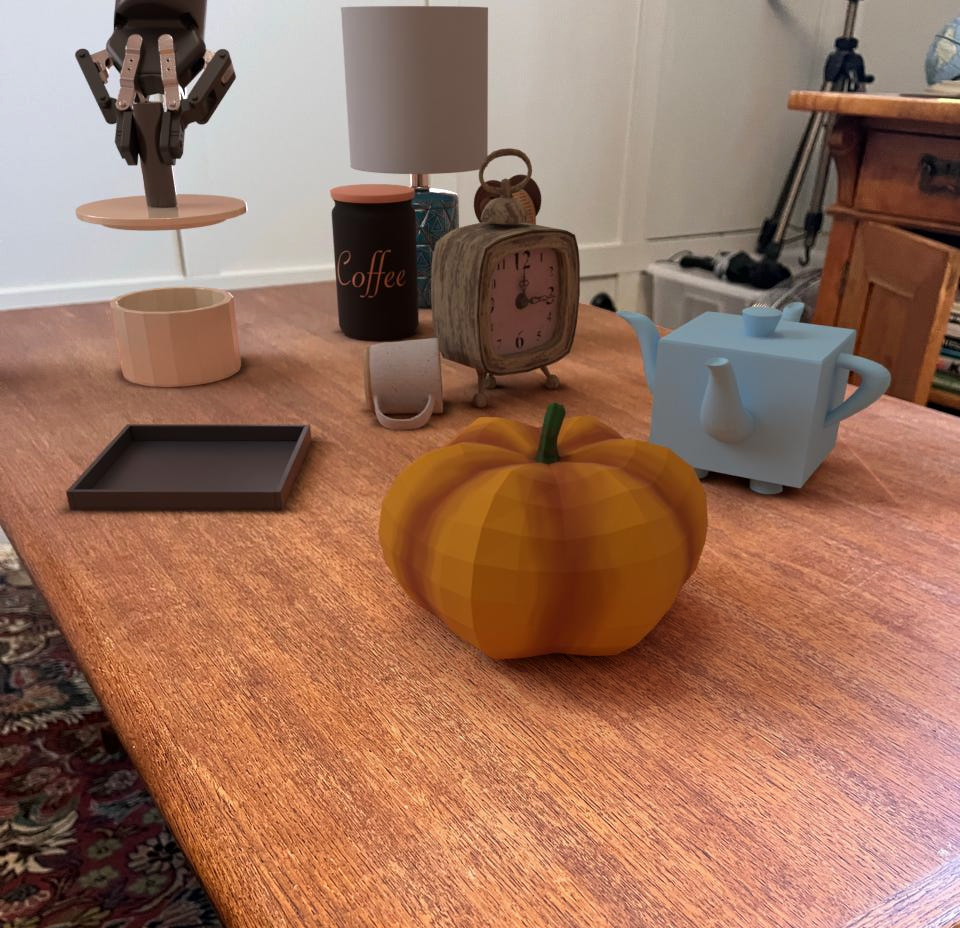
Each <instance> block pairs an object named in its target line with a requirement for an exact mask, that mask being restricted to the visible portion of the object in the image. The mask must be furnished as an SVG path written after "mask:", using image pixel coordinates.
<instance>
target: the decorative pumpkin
mask: <svg viewBox="0 0 960 928" xmlns="http://www.w3.org/2000/svg"><path fill="white" fill-rule="evenodd" d="M566 414H567V411H566V408H565V406H564V404H560V403H558V402H557V401H554V402H551V403H549V404H548V405H547V407H546V410H545V414H544V417H543V421H542V426H534V425H530V424H528V423H524V422H521V421H517V420H515V419H514V420H513V419H508V418H504V417H498V416H495V417H493V416H492V417H490V416H485V417H483V416H482V417H481V416H480V417H478V418H477V419H475V420H474V421H473V422H471V423H470V424H469V425H468V426H467V427H466V428H465V429H463V430H462V431H461V432H459V433H458V434H457V435H455V436H454V437H453V438H451V439H449V440H448V441H447V442H445V443H444V444H443V445H442V447H440V448H438V449H434V450H431V451H428V452H424V454H422V455H421V456H419V457H418V458H417V459H416V460H415V461H413V462H412V463H411V464H410V465H408V466H407V467H405V468H404V469H403V470H401V471H400V472H399V473H398V474H397V476H396V477H395V479H394V481H393V482H392V483H391V484H392V485H391V486H390V487H389V490H388V491H387V492H386V494H385V496H384V499H383V500H382V502H381V509H380V515H379V522H378V528H377V529H378V530H377V534H378V538H379V542H380V547H381V550H382V554H383V558H384V563H385V564H386V566H387V568H388V569H389V571H390V572H391V574H392V575H393V576H394V579H395V580H396V581H397V583H398V585H399V586H400V588H401V589H402V590H403V591H404V593H405V594H406V595H407V596H408V597H409V598H410V600H411V601H412V602H413V603H414V604H415V605H417V606H419V607H420V608H422V609H424V610H425V611H426V612H427V613H430V614H431V615H433V616H434V617H435V618H437V619H438V620H439V621H441V622H442V624H444V625H445V626H446V627H447V628H448V629H449V630H450V631H451V632H452V633H453V634H454V635H455V636H457V637H459V638H460V639H462V640H463V641H464V642H466V643H468V644H470V645H471V646H473V647H475V648H476V649H477V650H479V651H481V652H482V653H483V654H485V655H486V656H488V657H489V658H491V659H492V660H509V659H511V660H512V659H524V658H530V657H531V658H532V657H538V656H544V655H549V654H566V655H575V656H576V655H577V656H587V657H589V656H590V657H591V656H596V657H597V656H617V655H618V654H620V653H622V652H624V651H627V650H629V649H631V648H633V647H635V646H637V645H638V644H639V643H640V642H641V641H642V640H643V639H644V638H645V637H646V636H647V635H648V634H649V633H650V632H652V631H653V630H654V629H655V628H656V626H657V625H658V624H659V622H661V621H662V619H663V617H664V616H665V615H666V614H667V613H668V611H669V610H670V609H671V608H672V606H673V604H674V602H675V601H676V599H677V598H678V596H679V594H680V592H681V591H682V589H683V587H684V586H685V584H687V582H688V581H689V580H690V578H691V577H692V575H693V574H694V573H695V572H696V570H697V568H698V566H699V563H700V560H701V556H702V555H703V551H704V547H705V544H706V541H707V534H708V526H709V519H708V517H709V516H708V502H707V493H706V490H705V489H704V487H703V485H702V482H701V481H700V478H698V477H697V475H696V473H695V471H694V469H693V467H692V466H690V465H689V464H688V463H687V462H685V461H684V460H683V459H682V458H680V457H679V456H678V455H677V454H675V453H674V452H673V451H672V450H670V449H669V448H667V447H663V446H659V445H655V444H651V443H649V442H647V441H643V440H639V439H636V438H635V439H634V438H625V437H624V436H622V435H621V434H620V433H619V432H618V431H616V429H613V428H612V427H611V426H609V425H608V424H606V423H604V422H602V421H601V420H600V419H598V418H596V417H595V416H594V415H592V414H587V415H576V416H572V417H568V418H565V417H566Z"/></svg>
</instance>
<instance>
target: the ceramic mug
mask: <svg viewBox="0 0 960 928" xmlns="http://www.w3.org/2000/svg"><path fill="white" fill-rule="evenodd" d="M441 365H442V364H441V352H440V348H439V340H438V338H435V337H431V338H430V337H429V338H421V339H410V340H401V341H385V342H379V343H375V344H372V345H369V346H367V347H365V349H364V351H363V356H362V371H363V388H364V396H365V401H366V406H367V409H369V410H370V411H371V412H372V413H375V415H376V419H377V420H378V422H379V424H380V425H381V426H383V428H386V429H390V430H397V431H400V430H401V431H407V430H416V429H420V428H422V427H423V426H425V425H426V424H427V423H428V422H429V420H430V418H431V416H432V415H433V414H434V415H439V414H442V413H443V412H444V402H443V401H444V400H443V396H444V395H443V383H442V382H443V380H442V379H443V378H442V366H441ZM399 414H401V415H403V414H410V415H415V416H413V417H411V418H407V419H396V418H391V417H389V416H386V415H399Z"/></svg>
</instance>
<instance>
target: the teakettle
mask: <svg viewBox="0 0 960 928" xmlns="http://www.w3.org/2000/svg"><path fill="white" fill-rule="evenodd" d="M804 309H805V303H804V302H801V301H793V302H790V303H788V304H787V305H785V306H784V308H783V309H782V310H780V309H778V308H775V307H771V306H763V305H762V306H761V305H760V306H759V305H757V306H756V305H755V306H749V307H746V308H743V309H742V310H741V312H742V315H741V314H733V313H725V312H719V311H718V312H716V311H711V310H706V311H705V312H703V313H701V314H699V315H698V316H696V317H694V318H693V319H691V320H689V321H688V322H686V323H684V324H682V325H681V326H679V327H677V328H675V329H674V330H672V331H671V332H669V333H668V334H666V335H664V336H662V337H661V336H660V333H659V330H658V328H657V326H656V324H655V322H653V321H652V319H651V318H650V317H648V316H647V315H646V314H642V313H638V312H633V311H626V310H617V311H615V314H616V315H617V316H619V317H620V318H621V319H622V320H624V321H625V322H626V323H628V324H629V325H630V327H631V328H632V329H633V331H634V333H635V334H636V337H637V339H638V343H639V346H640V351H641V358H642V365H643V371H644V378H645V382H646V385H647V389H648V390H649V392H650V394H651V396H652V404H651V405H652V406H651V417H650V426H649V438H648V443H651V444H655V445H659V446H663V447H667V448H669V449H670V450H672V451H673V452H674V453H675V454H677V455H678V456H679V457H680V458H682V459H683V460H684V461H685V462H687V463H688V464H689V465H690V466H692V467H693V469H694V471H695V473H696V475H697V477H698V479H703V478H706V477H707V476H708V474H709V472H715V473H720V474H725V475H731V476H735V477H740V478H746V479H749V488H750V490H752V491H754V492H756V493H758V494H764V495H776V494H780V493H782V492H783V486H786V487H792V488H797V489H801V488H802V487H803V486H804V485H805V484H806V483H807V481H808V480H809V479H810V477H811V476H812V475H813V474H814V473H815V471H816V470H817V469H818V468H819V467H820V465H821V464H822V463H823V462H824V461H825V459H826V458H828V456H829V454H830V453H831V452H832V451H833V449H835V447H836V444H837V438H838V434H839V429H840V423H841V422H842V421H845V420H847V419H849V418H851V417H852V416H855V415H856V414H858V413H860V412H862V411H864V410H865V409H867V408H868V407H870V406H871V405H873V404H875V403H876V402H877V401H878V400H879V399H880V398H881V397H882V396H883V395H884V394H885V393H886V392H887V390H888V388H889V387H890V385H891V381H892V375H891V372H890V371H889V370H888V368H886V367H885V366H883V364H881V363H879V362H876V361H875V360H872V359H868V358H865V357H862V356H858V355H854V350H855V344H856V339H857V334H858V332H857V330H856V329H853V328H846V327H845V328H844V327H837V326H830V325H821V324H814V323H807V322H806V323H805V322H800V320H801V317H802V314H803V312H804ZM850 371H851V372H854V373H855V374H857V375H859V376H860V377H861V383H860V384H859V386H858V387H857V389H856V390H855V391H854V392H853V393H851V395H850V396H849V397H848V398H846V399H845V396H846V391H847V387H848V380H849V375H850Z"/></svg>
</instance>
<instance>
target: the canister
mask: <svg viewBox="0 0 960 928" xmlns="http://www.w3.org/2000/svg"><path fill="white" fill-rule="evenodd" d="M109 307H110V313H111V318H112V323H113V324H112V325H113V330H114V334H115V341H116V345H117V351H118V356H119V363H120V367H121V372H122V376H123V378H124V379H125V380H127V381H128V382H130V383H133V384H136V385H141V386H146V387H147V386H148V387H157V388H158V387H159V388H162V387H163V388H176V387H177V388H178V387H190V386H197V385H203V384H204V385H205V384H210V383H214V382H218V381H221V380H224V379H227V378H229V377H231V376H233V375H235V374H237V373H238V372H239V371H240V370H241V367H242V358H241V351H240V342H239V341H240V340H239V334H238V327H237V325H238V324H237V318H236V309H235V301H234V296H233V295H232V294H231V293H230V292H229V291H226V290H223V289H219V288H214V287H204V286H168V287H167V286H166V287H156V288H155V287H154V288H148V289H142V290H135V291H131V292H127V293H124V294H121V295H117V296H116V297H115V298H113V299H112V300H110V301H109Z"/></svg>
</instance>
